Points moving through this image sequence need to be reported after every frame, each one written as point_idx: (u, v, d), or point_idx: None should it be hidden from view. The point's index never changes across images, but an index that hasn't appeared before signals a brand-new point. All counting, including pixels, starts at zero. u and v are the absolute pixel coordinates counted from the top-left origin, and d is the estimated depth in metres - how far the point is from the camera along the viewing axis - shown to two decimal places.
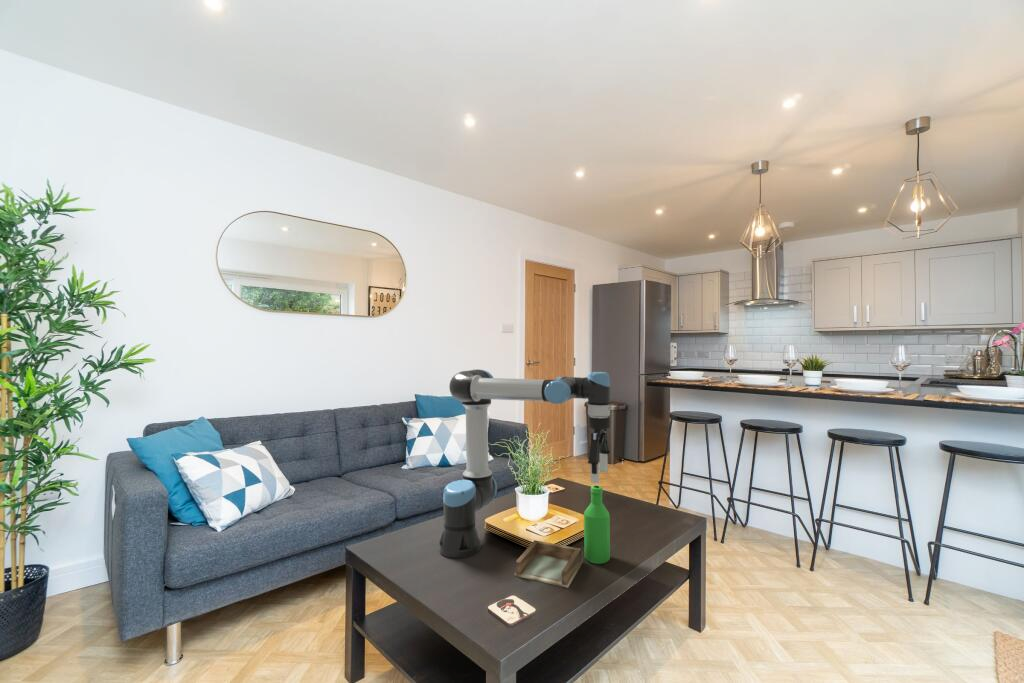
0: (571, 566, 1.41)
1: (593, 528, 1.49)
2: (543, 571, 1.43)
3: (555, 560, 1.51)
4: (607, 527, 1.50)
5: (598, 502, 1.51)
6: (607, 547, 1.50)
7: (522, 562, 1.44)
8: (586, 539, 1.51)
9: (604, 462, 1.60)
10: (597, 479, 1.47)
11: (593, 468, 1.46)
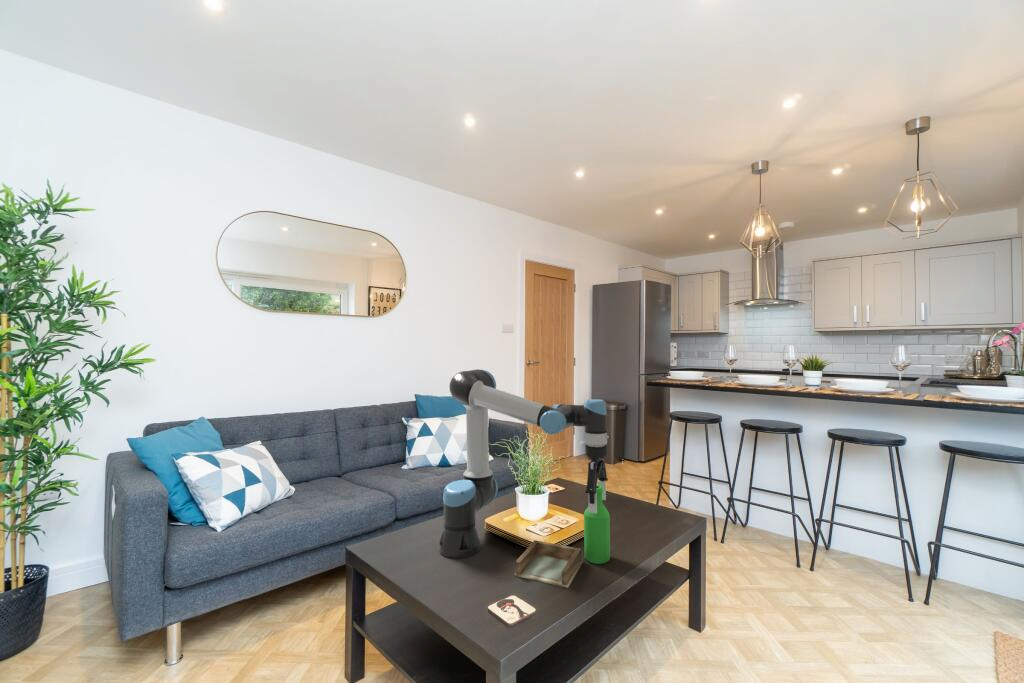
0: (571, 566, 1.41)
1: (593, 528, 1.49)
2: (543, 571, 1.43)
3: (555, 560, 1.51)
4: (607, 527, 1.50)
5: (598, 502, 1.51)
6: (607, 547, 1.50)
7: (522, 562, 1.44)
8: (586, 539, 1.51)
9: None
10: (595, 509, 1.46)
11: (591, 498, 1.46)
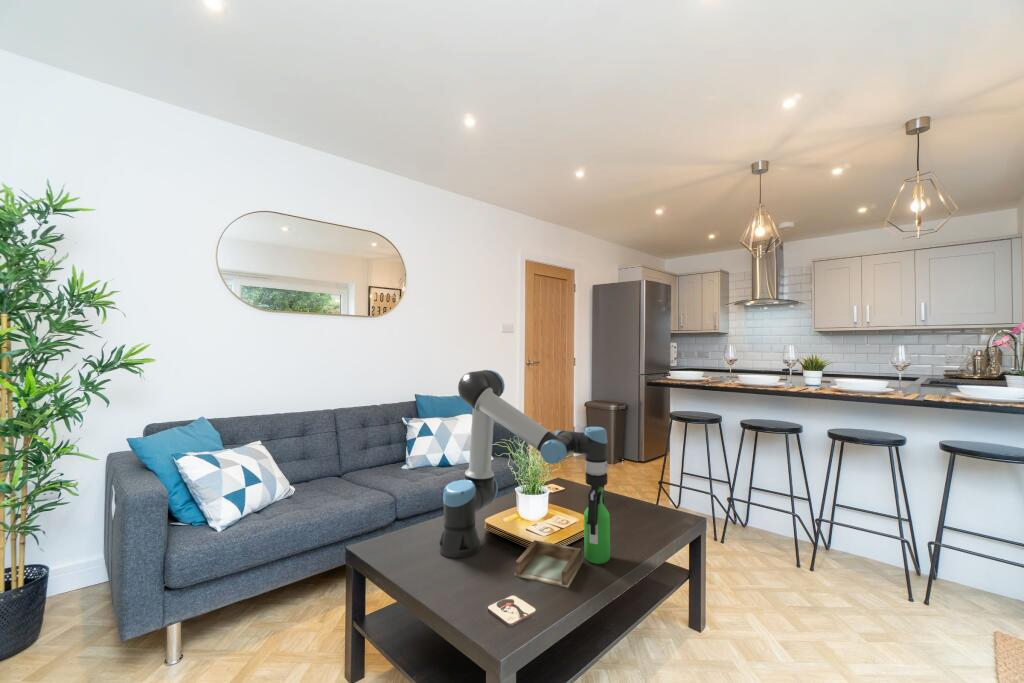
0: (571, 566, 1.41)
1: None
2: (543, 571, 1.43)
3: (555, 560, 1.51)
4: (607, 527, 1.50)
5: None
6: (607, 547, 1.50)
7: (522, 562, 1.44)
8: (586, 539, 1.51)
9: None
10: (596, 540, 1.48)
11: (592, 529, 1.48)
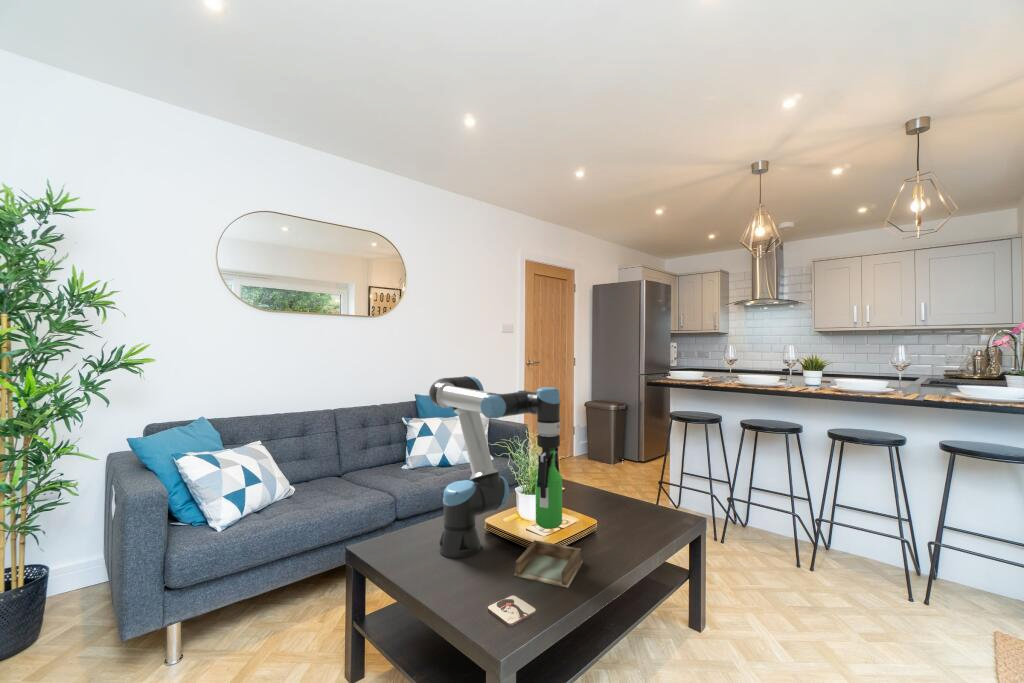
0: (571, 566, 1.41)
1: None
2: (543, 571, 1.43)
3: (555, 560, 1.51)
4: (559, 491, 1.44)
5: None
6: (558, 511, 1.43)
7: (522, 562, 1.44)
8: (537, 503, 1.45)
9: None
10: (546, 503, 1.42)
11: (542, 492, 1.41)
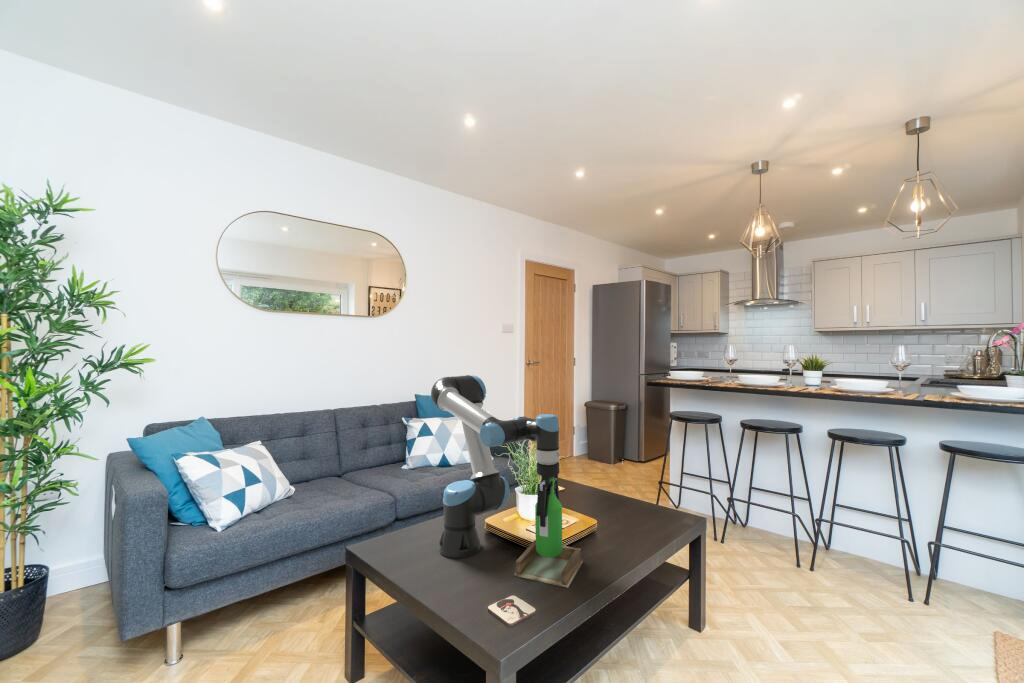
0: (571, 566, 1.41)
1: None
2: (543, 571, 1.43)
3: (555, 560, 1.51)
4: (558, 519, 1.43)
5: None
6: (558, 540, 1.43)
7: (522, 562, 1.44)
8: (537, 532, 1.44)
9: None
10: (546, 532, 1.41)
11: (541, 521, 1.41)
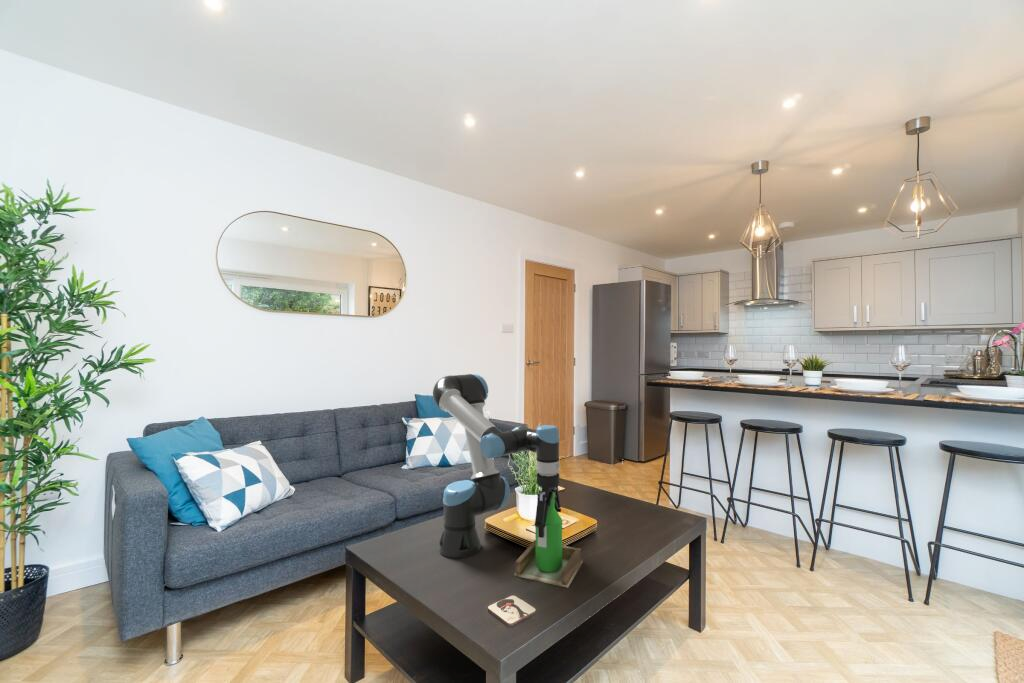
0: (571, 566, 1.41)
1: None
2: (543, 571, 1.43)
3: None
4: (558, 533, 1.43)
5: (550, 507, 1.45)
6: (558, 554, 1.43)
7: (522, 562, 1.44)
8: (537, 546, 1.45)
9: None
10: (544, 543, 1.40)
11: (540, 531, 1.39)
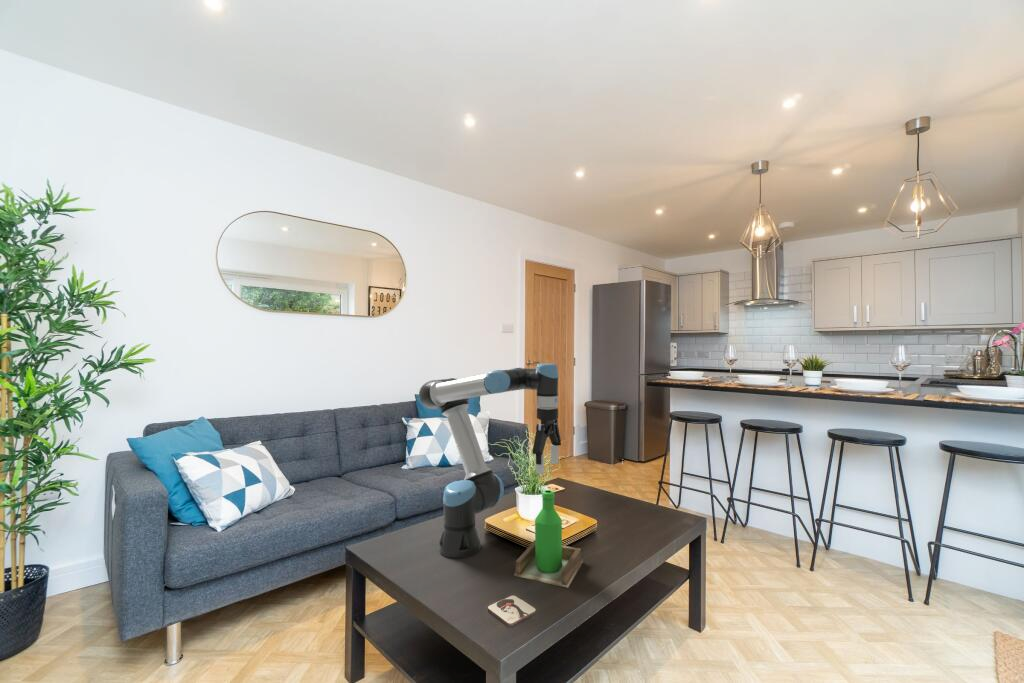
0: (571, 566, 1.41)
1: (543, 535, 1.42)
2: None
3: None
4: (558, 534, 1.43)
5: (549, 508, 1.44)
6: (558, 555, 1.43)
7: (522, 562, 1.44)
8: (536, 546, 1.44)
9: (555, 453, 1.60)
10: (541, 470, 1.48)
11: (537, 459, 1.47)
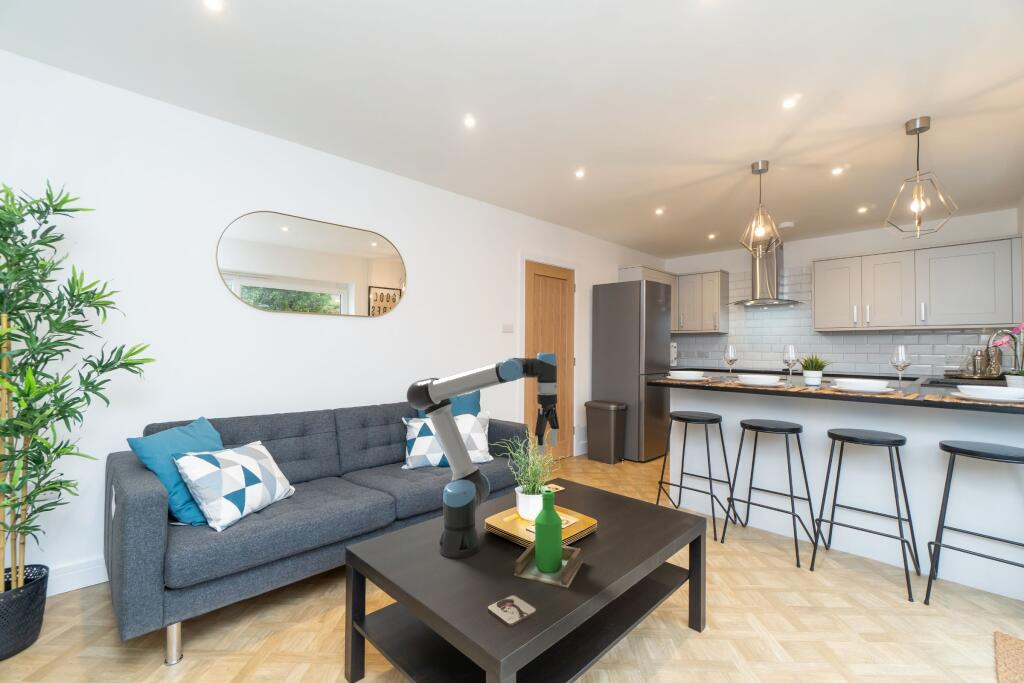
0: (571, 566, 1.41)
1: (543, 535, 1.42)
2: None
3: None
4: (558, 534, 1.43)
5: (549, 508, 1.45)
6: (558, 555, 1.43)
7: (522, 562, 1.44)
8: (536, 546, 1.44)
9: (554, 436, 1.73)
10: (543, 450, 1.60)
11: (539, 440, 1.59)
